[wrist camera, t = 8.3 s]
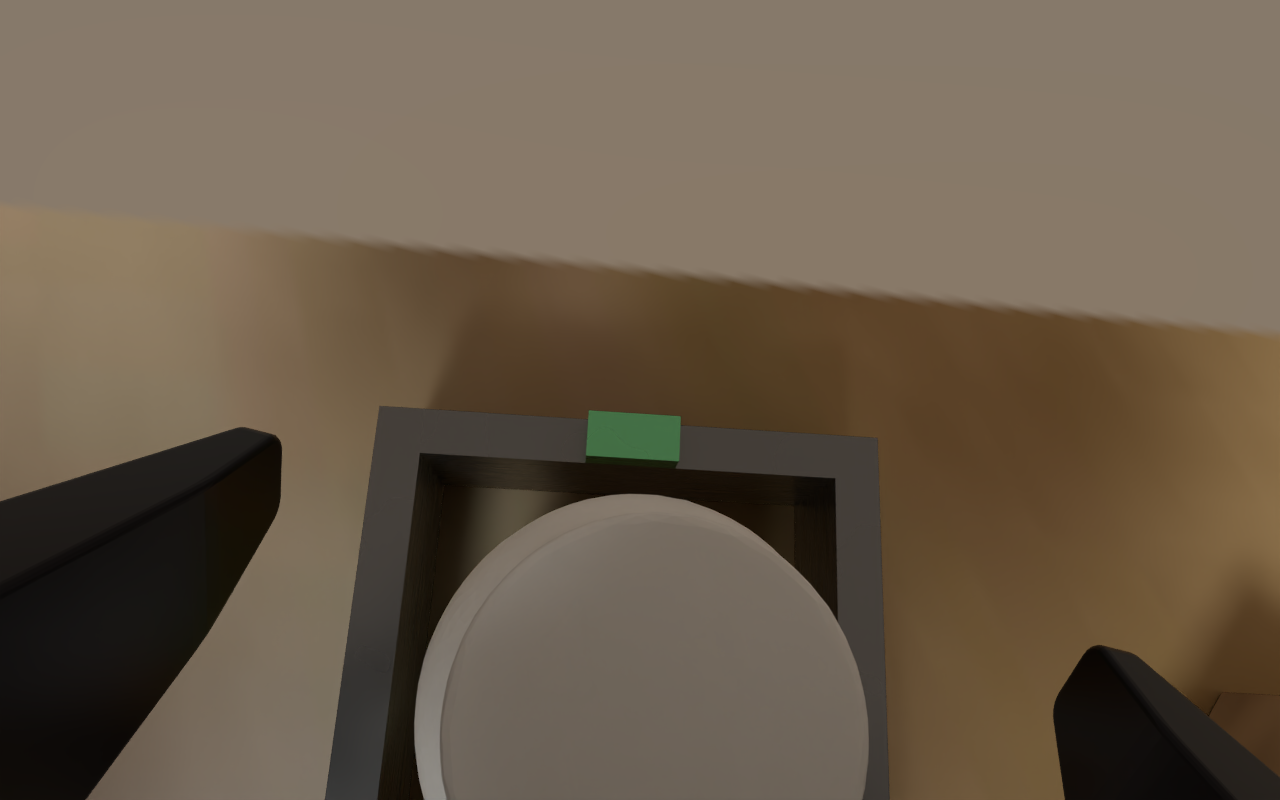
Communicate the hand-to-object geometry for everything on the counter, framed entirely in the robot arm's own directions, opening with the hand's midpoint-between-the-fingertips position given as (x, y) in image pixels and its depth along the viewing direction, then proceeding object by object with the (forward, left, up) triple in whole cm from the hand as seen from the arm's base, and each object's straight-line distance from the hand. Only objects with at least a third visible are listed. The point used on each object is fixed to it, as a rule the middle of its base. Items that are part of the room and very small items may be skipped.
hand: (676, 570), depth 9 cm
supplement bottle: (-1, -1, -9) cm, 9 cm away
